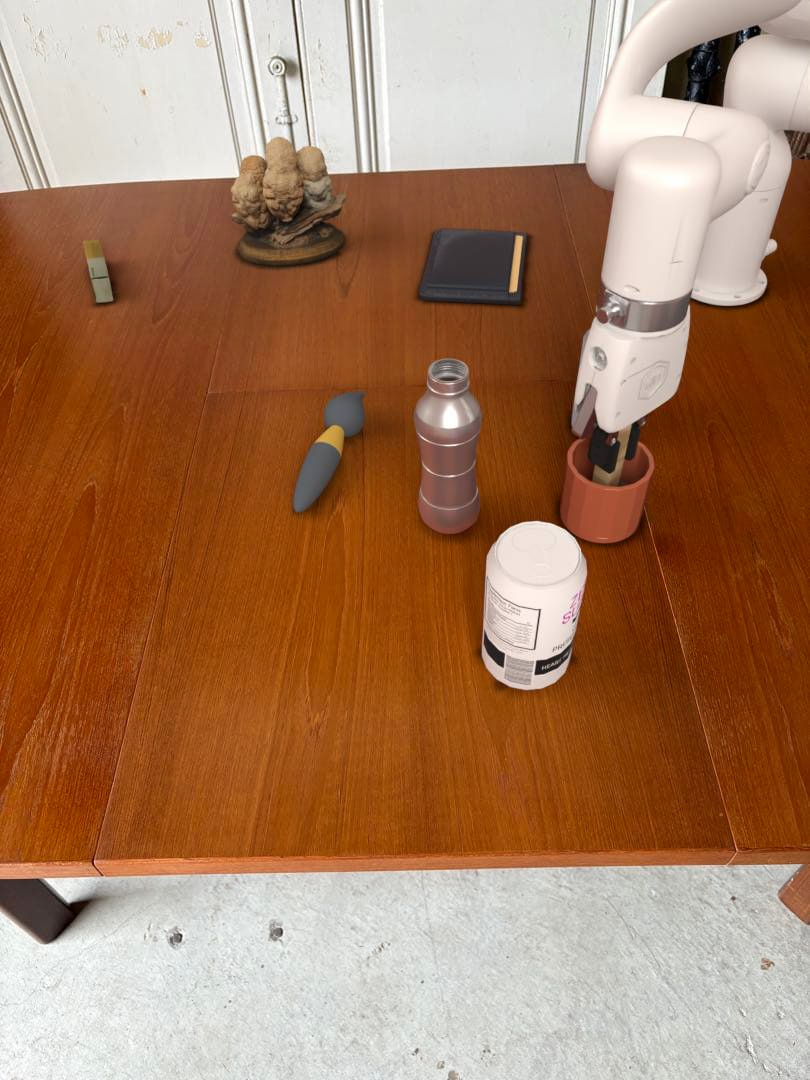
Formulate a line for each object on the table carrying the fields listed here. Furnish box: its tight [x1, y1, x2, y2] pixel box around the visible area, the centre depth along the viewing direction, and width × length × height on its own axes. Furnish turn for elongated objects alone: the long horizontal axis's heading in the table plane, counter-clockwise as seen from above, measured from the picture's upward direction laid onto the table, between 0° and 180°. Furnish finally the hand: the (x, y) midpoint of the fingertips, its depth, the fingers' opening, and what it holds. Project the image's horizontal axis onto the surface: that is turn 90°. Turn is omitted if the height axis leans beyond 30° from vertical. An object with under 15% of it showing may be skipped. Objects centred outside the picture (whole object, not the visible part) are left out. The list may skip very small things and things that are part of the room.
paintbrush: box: [292, 391, 367, 514], centre depth 94 cm, size 20×5×5 cm, turn 167°
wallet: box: [418, 227, 528, 306], centre depth 122 cm, size 20×2×15 cm
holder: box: [559, 438, 655, 544], centre depth 85 cm, size 9×9×8 cm
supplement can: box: [481, 520, 588, 691], centre depth 71 cm, size 8×8×15 cm
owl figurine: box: [230, 136, 348, 267], centre depth 123 cm, size 18×12×17 cm, turn 96°
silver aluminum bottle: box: [413, 358, 483, 535], centre depth 81 cm, size 6×7×20 cm
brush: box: [592, 424, 632, 487], centre depth 83 cm, size 5×3×13 cm, turn 129°
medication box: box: [82, 239, 114, 304], centre depth 123 cm, size 12×3×4 cm, turn 21°
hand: (610, 458), depth 82 cm, fingers closed on brush, 2 cm apart
